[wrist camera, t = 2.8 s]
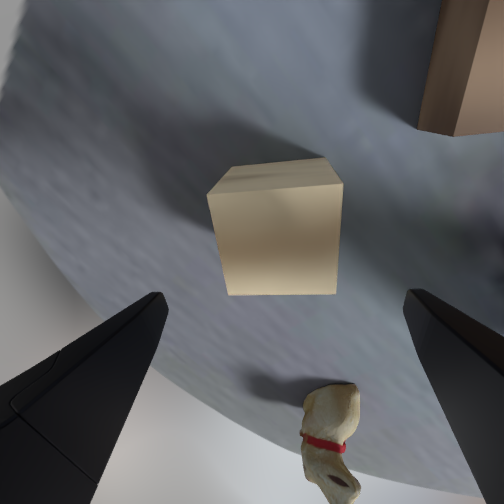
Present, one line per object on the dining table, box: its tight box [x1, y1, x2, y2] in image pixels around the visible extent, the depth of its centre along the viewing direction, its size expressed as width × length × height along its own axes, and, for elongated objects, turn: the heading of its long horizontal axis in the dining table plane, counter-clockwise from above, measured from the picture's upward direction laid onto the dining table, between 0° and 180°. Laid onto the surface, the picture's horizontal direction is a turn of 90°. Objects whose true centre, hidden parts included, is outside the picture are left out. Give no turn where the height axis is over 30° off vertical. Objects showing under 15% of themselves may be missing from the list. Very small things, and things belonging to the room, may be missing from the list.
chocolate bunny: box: [300, 384, 361, 504], centre depth 24 cm, size 6×8×10 cm
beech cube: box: [207, 157, 343, 295], centre depth 15 cm, size 6×6×6 cm
